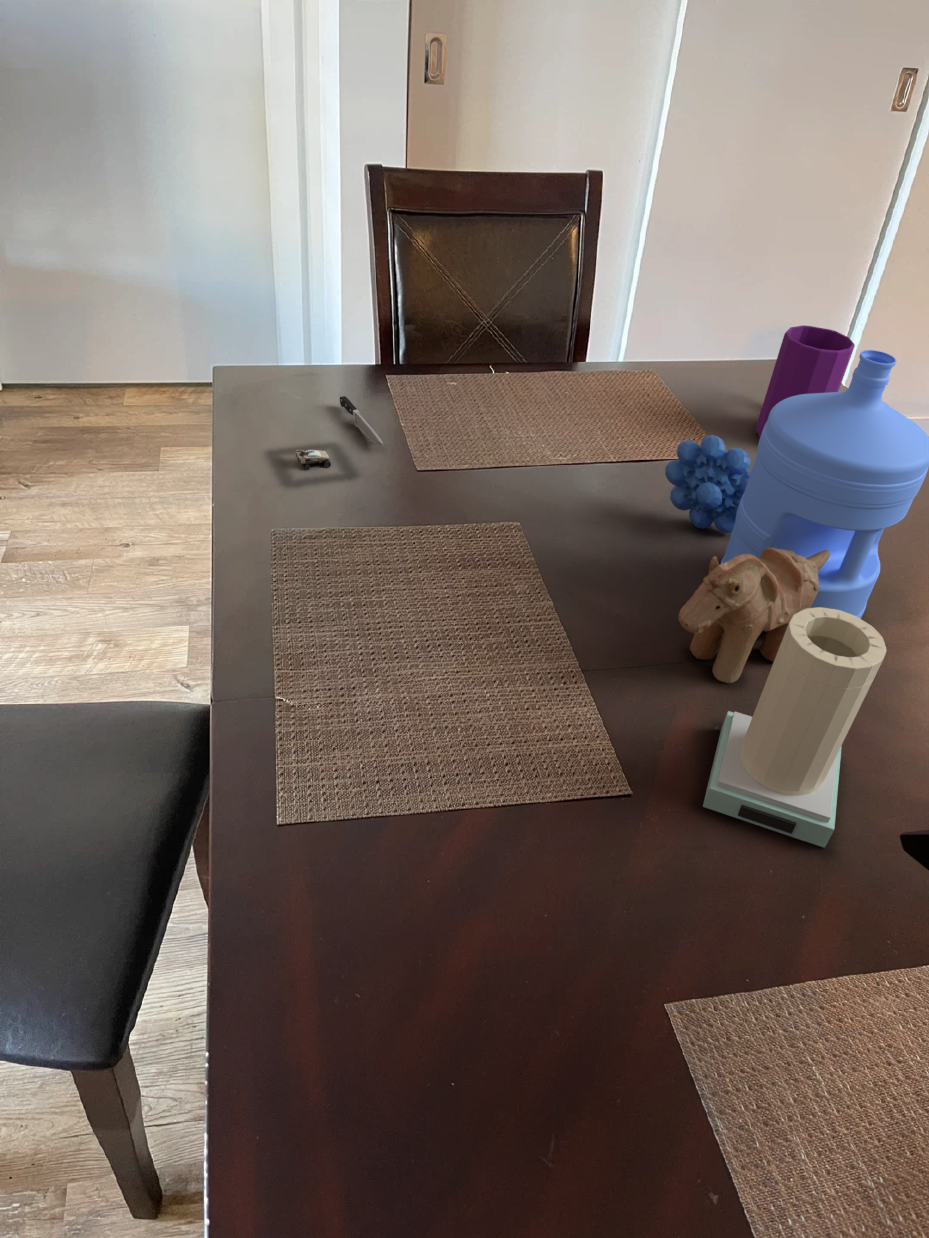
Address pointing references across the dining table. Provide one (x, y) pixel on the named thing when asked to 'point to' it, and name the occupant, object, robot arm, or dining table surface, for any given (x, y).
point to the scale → (768, 792)
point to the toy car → (313, 458)
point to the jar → (810, 699)
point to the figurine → (749, 606)
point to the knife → (360, 421)
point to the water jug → (833, 482)
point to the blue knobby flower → (709, 482)
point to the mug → (806, 366)
